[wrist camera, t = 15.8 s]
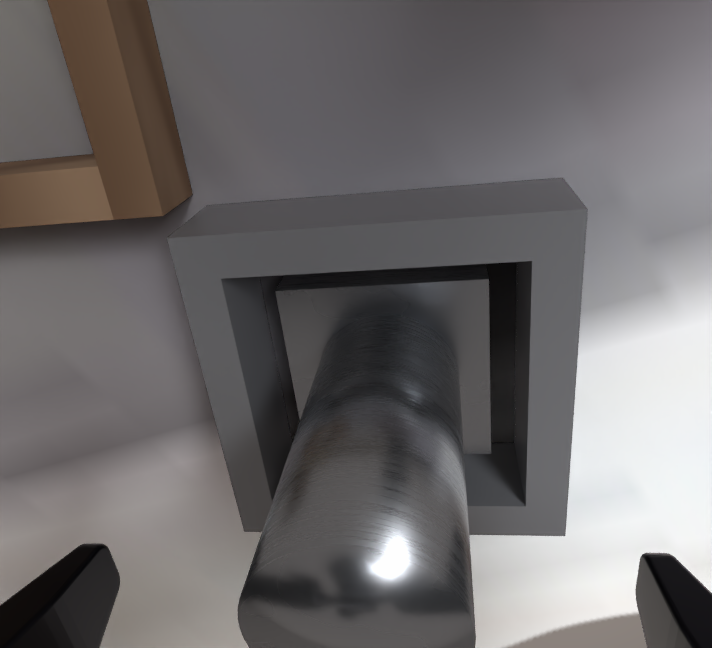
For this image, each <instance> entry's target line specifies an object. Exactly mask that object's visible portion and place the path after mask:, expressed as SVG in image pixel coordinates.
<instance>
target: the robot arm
mask: <svg viewBox="0 0 712 648" xmlns="http://www.w3.org/2000/svg"><path fill="white" fill-rule="evenodd" d="M119 586H120V576H119V572H118V570H117V568H116V565H115V563H114V560H113V558H112V556H111V553H110V551H109V549H108V547H107V546H106V545H104V544H82V545H80V546H79V547H77V548H76V549H74V550H73V551H72V552H71V553H69V554H68V555H67V556H65V557H64V558H63V559H61V560H60V561H59V562H57V563H56V564H55V565H53V566H52V567H51V568H49V569H48V570H47V571H45V572H44V573H43V574H41V575H40V576H39V577H37V578H36V579H35V580H33V581H32V582H31V583H29V584H28V585H27V586H25V587H24V588H23V589H21V590H20V591H19V592H17V593H16V594H15V595H13V596H12V597H11V598H9V599H8V600H7V601H5V602H4V603H3V604H1V605H0V648H99V647H100V644H101V641H102V638H103V635H104V632H105V629H106V626H107V623H108V620H109V617H110V614H111V611H112V608H113V605H114V602H115V599H116V597H117V594H118V590H119ZM636 601H637V607H638V611H639V615H640V619H641V623H642V628H643V632H644V636H645V640H646V644H647V648H712V593H711V592H710V591H709V590H708V589H707V588H706V587H705V586H704V585H703V584H702V583H701V582H700V581H699V580H698V579H697V578H696V577H695V576H693V575H692V574H691V573H690V572H689V571H688V570H687V569H686V568H685V567H684V566H683V565H682V564H681V563H680V562H679V561H678V560H677V559H676V558H675V557H674V556H672V555H670V554H667V553H644V554H643V555H642V556H641V558H640V563H639V570H638V577H637V583H636Z"/></svg>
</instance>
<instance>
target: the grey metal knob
mask: <svg viewBox="0 0 712 648" xmlns="http://www.w3.org/2000/svg"><path fill="white" fill-rule="evenodd" d="M275 293H276V298H277V304H278V309H279V314H280V319H281V325H282V330H283V335H284V340H285V346H286V351H287V356H288V361H289V367H290V372H291V377H292V382H293V388H294V393H295V398H296V403H297V409H298V414H299V419H300V422H299V425H298V428H297V431H296V434H295V437H294V440H293V442H292V445H291V448H290V451H289V454H288V457H287V460H286V463H285V466H284V469H283V472H282V475H281V478H280V481H279V484H278V487H277V490H276V493H275V496H274V499H273V502H272V505H271V508H270V510H269V513H268V516H267V519H266V522H265V525H264V528H263V531H262V534H261V537H260V540H259V543H258V546H257V549H256V552H255V555H254V558H253V561H252V564H251V567H250V570H249V573H248V576H247V579H246V581H245V584H244V587H243V590H242V593H241V596H240V599H239V605H238V621H239V626H240V630H241V632H242V635H243V637H244V639H245V641H246V643H247V644H248V646H249V648H475V640H476V635H475V619H474V603H473V587H472V572H471V556H470V540H469V524H468V509H467V493H466V477H465V461H464V454H491V408H490V326H489V277H488V272H487V267H486V264H471V265H453V266H435V267H418V268H400V269H383V270H365V271H348V272H330V273H313V274H295V275H284V277H283V279H282V280H281V282H280V284H279V285H278V287H277V289H276V290H275Z"/></svg>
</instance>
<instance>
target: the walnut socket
mask: <svg viewBox="0 0 712 648" xmlns="http://www.w3.org/2000/svg"><path fill="white" fill-rule="evenodd" d="M47 1H48V4H49V7H50V11H51V14H52V17H53V21H54V24H55V27H56V31H57V34H58V37H59V41H60V44H61V47H62V50H63V54H64V57H65V60H66V64H67V67H68V70H69V74H70V77H71V80H72V83H73V87H74V90H75V93H76V97H77V100H78V103H79V107H80V110H81V113H82V116H83V120H84V123H85V126H86V130H87V133H88V136H89V140H90V143H91V146H92V150H93V153H94V154H87V155H77V156H66V157H56V158H46V159H35V160H25V161H14V162H4V163H0V228H11V227H24V226H37V225H51V224H64V223H77V222H90V221H103V220H116V219H130V218H143V217H156V216H164V215H165V214H167V213H168V212H169V211H171V210H172V209H174V208H175V207H176V206H178V205H179V204H181V203H182V202H183V201H185V200H186V199H187V198H189V197H190V196H192V195H193V194H192V189H191V185H190V181H189V177H188V172H187V168H186V164H185V160H184V155H183V151H182V147H181V143H180V138H179V134H178V130H177V126H176V122H175V117H174V113H173V109H172V105H171V100H170V96H169V92H168V88H167V83H166V79H165V75H164V71H163V67H162V62H161V58H160V54H159V50H158V45H157V41H156V37H155V33H154V28H153V24H152V20H151V16H150V11H149V7H148V3H147V0H47Z"/></svg>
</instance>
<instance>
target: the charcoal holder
mask: <svg viewBox="0 0 712 648" xmlns="http://www.w3.org/2000/svg"><path fill="white" fill-rule="evenodd" d="M587 210H588V209H587V208H586V206H585V205H584V204H583V203H582V201H581V200H580V199H579V198H578V196H577V195H576V194H575V192H574V191H573V190H572V189H571V187H570V186H569V185H568V184H567V182H566V181H565V180H564V179H563V178H553V179H540V180H527V181H515V182H502V183H489V184H476V185H463V186H450V187H438V188H425V189H412V190H399V191H386V192H373V193H361V194H348V195H335V196H322V197H309V198H296V199H284V200H271V201H258V202H245V203H232V204H219V205H207V206H206V207H204V208H203V209H202V210H201V211H199V212H198V213H197V214H196V215H194V216H193V217H192V218H191V219H190V220H188V221H187V222H186V223H185V224H183V225H182V226H181V227H180V228H179V229H177V230H176V231H175V232H174V233H172V234H171V235H170V236H169V237H167V242H168V245H169V249H170V253H171V257H172V260H173V264H174V268H175V272H176V275H177V279H178V283H179V287H180V291H181V294H182V298H183V302H184V306H185V309H186V313H187V317H188V321H189V324H190V328H191V332H192V336H193V340H194V343H195V347H196V351H197V355H198V358H199V362H200V366H201V370H202V374H203V377H204V381H205V385H206V389H207V392H208V396H209V400H210V404H211V407H212V411H213V415H214V419H215V423H216V426H217V430H218V434H219V438H220V441H221V445H222V449H223V453H224V456H225V460H226V464H227V468H228V472H229V475H230V479H231V483H232V487H233V490H234V494H235V498H236V502H237V506H238V509H239V513H240V517H241V521H242V524H243V528H244V532H262V531H263V528H264V525H265V522H266V519H267V516H268V513H269V510H270V508H271V505H272V502H273V499H274V496H275V493H276V490H277V487H278V484H279V481H280V478H281V475H282V472H283V469H284V466H285V463H286V460H287V457H288V454H289V451H290V448H291V445H292V439H291V434H290V429H289V424H288V419H287V414H286V409H285V404H284V399H283V394H282V388H281V383H280V378H279V373H278V368H277V363H276V358H275V353H274V348H273V343H272V338H271V333H270V328H269V323H268V318H267V312H266V307H265V302H264V297H263V292H262V287H261V282H260V276H278V275H295V274H313V273H330V272H348V271H365V270H383V269H400V268H418V267H435V266H453V265H471V264H488V263H506V262H517V278H516V351H515V423H514V443H491V454H464V461H465V477H466V493H467V509H468V524H469V535H531V536H565V532H566V517H567V503H568V488H569V473H570V459H571V444H572V429H573V415H574V400H575V385H576V371H577V356H578V342H579V327H580V312H581V298H582V283H583V268H584V254H585V239H586V224H587Z"/></svg>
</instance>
